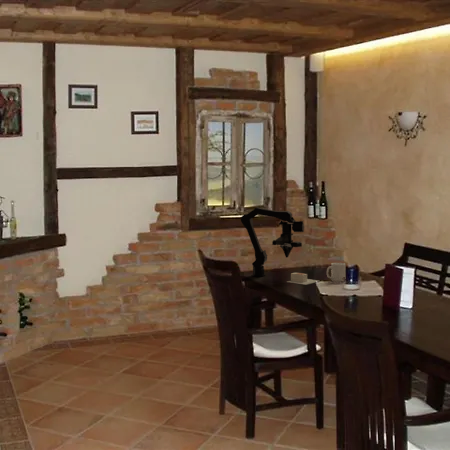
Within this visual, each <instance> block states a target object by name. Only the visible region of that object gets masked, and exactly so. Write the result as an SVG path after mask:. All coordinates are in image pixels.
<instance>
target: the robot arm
mask: <svg viewBox="0 0 450 450" xmlns="http://www.w3.org/2000/svg"><path fill="white" fill-rule="evenodd" d="M258 215H261V216H265V217H270V218H275V219H278V220H280V222H279V223H278V225H279V226H280V225H281V233H280V236H279V237H277V238H276V239H273V240H272V241H271V243H272V244H271V245H272V246H279V248H281V249H282V251H283V253H284V256H285V258H289V257H290V254H291V252H292V250H293V248H300V247H302V245H303V244H302V242H301V241H294V240H293V239H292V238H293V235H294V233H305V224H304V220H295V218H294V217H293V213H292V212H291V211H289V210H274V209H273V210H272V209H268V208H261V207H255V208H254V209H253V210H251V211H250V212H248V213H245V214H242V215H241V217H240V222H241V224H242V225H243V226H244V228H245V229H246V231H247V234H248V236H249V239H250V242H251V245H252V247H253V250H254V258H255V260H254V261H253V262H252V274H251V275H252V277H256V278H257V277H258V278H260V277H265V276H266V274H265V266H264V265H265V263H266V262H267V261H268V254H267V251H266V249H264V250H263V249H262V246H261V244H260V241H259V239H258V236H257V233H256V231H255V228H254V218H255V217H257V216H258ZM292 231H293V232H294V233H292Z"/></svg>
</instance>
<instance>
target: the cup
mask: <svg viewBox="0 0 450 450" xmlns="http://www.w3.org/2000/svg"><path fill="white" fill-rule="evenodd" d="M330 265H331V266H330ZM330 265H329V266H328V267H327V268H326V276H327V278H328V279H330V280H331V281H332V282H334V281H336V282H335V283H342V282H341V281H342V278H343V277H345V278H346V263H345V262H331V264H330ZM329 270H330V271H331V272H330V271H329ZM329 272H330V273H331V274H329ZM330 275H331V276H330Z"/></svg>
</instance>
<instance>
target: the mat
mask: <svg viewBox="0 0 450 450" xmlns="http://www.w3.org/2000/svg"><path fill="white" fill-rule="evenodd" d="M316 281H319V280H316V279H310V278H307V281H305V282H300V281H293V280H291V279H290V280H288V281H286V283H291V284H298V285H304V286H307V285H311V284H315V282H316ZM316 283H317V282H316Z"/></svg>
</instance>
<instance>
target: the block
mask: <svg viewBox="0 0 450 450" xmlns="http://www.w3.org/2000/svg"><path fill="white" fill-rule="evenodd" d="M307 279H308V273H303V272H292V273H290V281H291V280H293V281H300V282H305V281H307Z"/></svg>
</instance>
